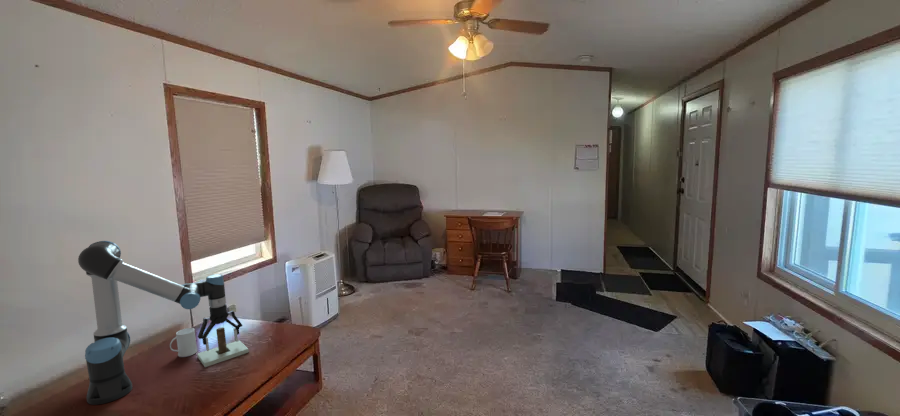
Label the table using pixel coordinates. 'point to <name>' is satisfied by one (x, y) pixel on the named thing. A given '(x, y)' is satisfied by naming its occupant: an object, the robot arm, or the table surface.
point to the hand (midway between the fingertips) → (222, 345)
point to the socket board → (213, 357)
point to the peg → (221, 340)
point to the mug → (185, 342)
